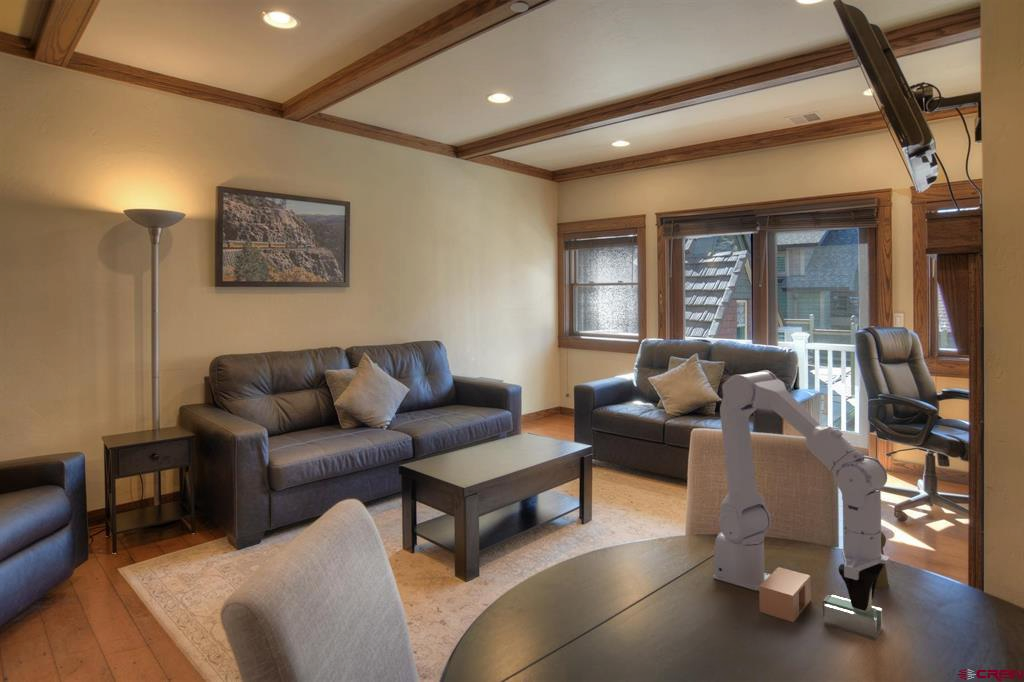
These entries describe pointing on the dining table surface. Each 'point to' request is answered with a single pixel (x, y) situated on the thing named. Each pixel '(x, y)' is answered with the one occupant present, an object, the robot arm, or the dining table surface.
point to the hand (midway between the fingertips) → (862, 603)
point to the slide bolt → (850, 605)
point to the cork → (882, 578)
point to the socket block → (785, 594)
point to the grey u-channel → (853, 621)
